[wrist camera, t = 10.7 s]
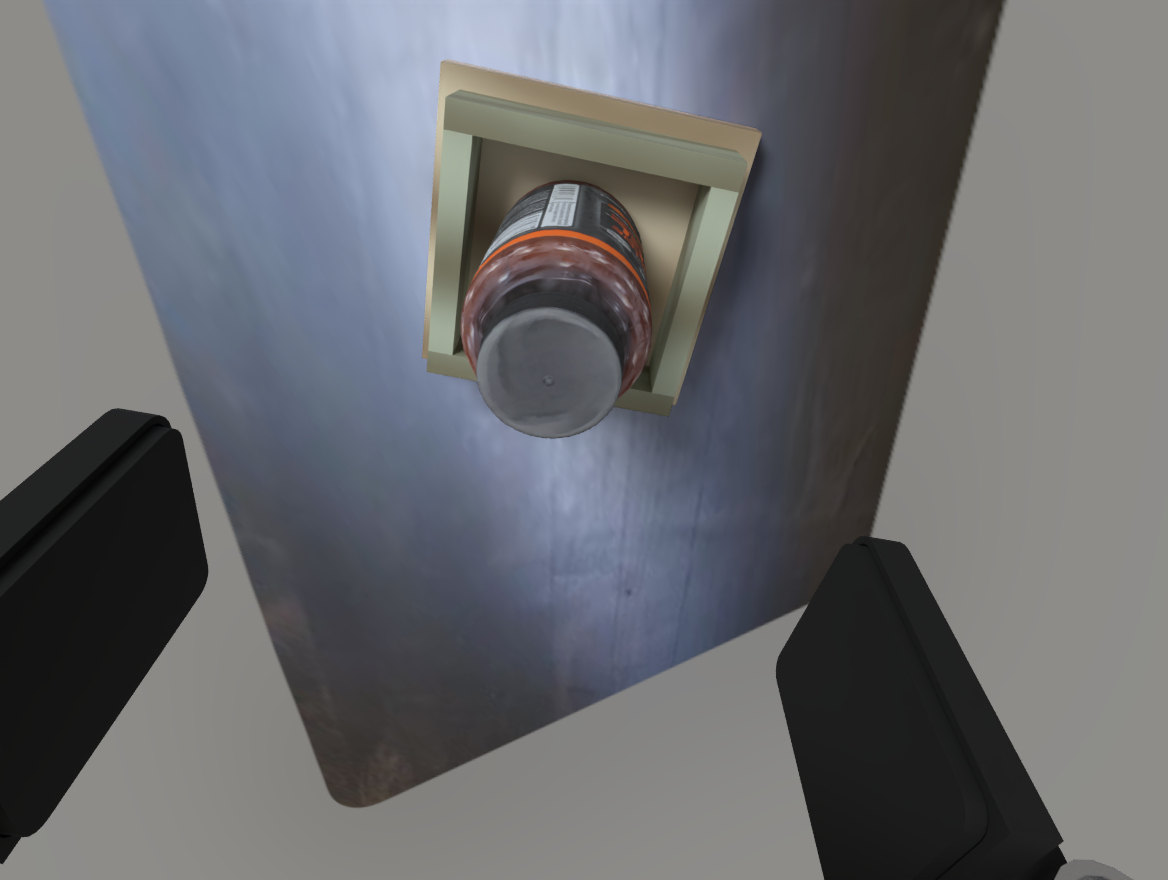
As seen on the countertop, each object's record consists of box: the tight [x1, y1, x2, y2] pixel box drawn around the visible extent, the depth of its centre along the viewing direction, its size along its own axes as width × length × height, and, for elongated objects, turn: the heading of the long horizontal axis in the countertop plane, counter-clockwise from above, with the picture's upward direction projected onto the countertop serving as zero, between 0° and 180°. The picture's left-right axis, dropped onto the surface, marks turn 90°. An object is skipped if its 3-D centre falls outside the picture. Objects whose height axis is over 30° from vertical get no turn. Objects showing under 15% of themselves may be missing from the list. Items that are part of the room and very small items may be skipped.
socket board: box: [422, 60, 762, 417], centre depth 27 cm, size 12×12×4 cm
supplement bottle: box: [461, 180, 652, 439], centre depth 22 cm, size 6×6×11 cm
